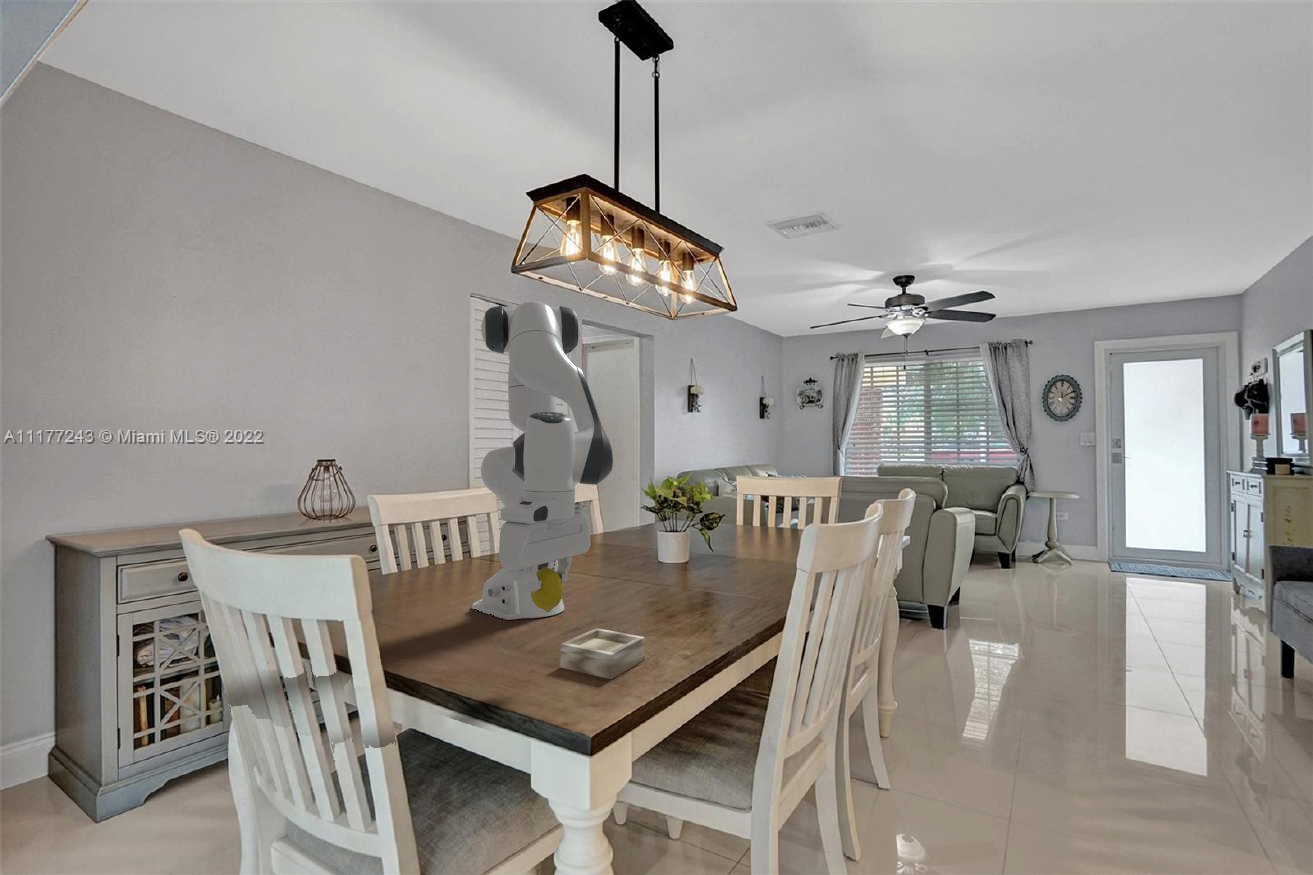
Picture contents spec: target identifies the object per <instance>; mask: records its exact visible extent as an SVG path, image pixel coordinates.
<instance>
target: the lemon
mask: <svg viewBox="0 0 1313 875" xmlns="http://www.w3.org/2000/svg"><path fill="white" fill-rule="evenodd" d="M536 575H537V578H538V580H542V584H541V587H542V588H541V590H539V591H536V592H531V597H532V600H533V602H534V604H535V605H536V606H537V607H539V608H541V609H544V610H545V611H546V612H550V611H551V610H552V609H553V608H554V607H556V606H557V605H558V604H559V603H560V601H561V599H562V600H563V595H564V586H563V583H562V581H561V578H560V576H559V574H558V573H557V572H556V571H554V570H552V569H549V568H548V567H543V568H542V569H541V570H539V571H538V572H537V573H536Z"/></svg>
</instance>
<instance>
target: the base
mask: <svg viewBox="0 0 1313 875" xmlns="http://www.w3.org/2000/svg"><path fill="white" fill-rule="evenodd" d="M559 645H560V650H559V652H560V657H559V660H560V663H559V664H560V668H561V669H565V670H570V671H575V672H577V673H583V674H587V675H590V676H591V675H592V676H595V677H599V678H604V679H609V680H612V679H614V678H616V677H618V676H620V675H621V674H623V673H625V672H627V671H628V670H630V669H632V668H633V667H635V666H637V665H639V664H640V663H642V662H644V661H645V660H646V637H645V636H640V635H634V634H630V633H626V632H625V633H624V632H620V631H619V632H618V631H615V630H614V631H613V630H609V629H603V628H597V627H596V628H593V629H591V630H589V631H587V632H585V633H582V634H580V635H578V636H575V637H574V638H571V639H568V640H566V641H564V642H561V643H560V644H559Z"/></svg>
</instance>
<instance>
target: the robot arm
mask: <svg viewBox="0 0 1313 875" xmlns="http://www.w3.org/2000/svg"><path fill="white" fill-rule="evenodd" d="M480 327H481V328H480V330H481V331H480V332H481V336H482V340H483V342H484V343H485V347H487V349H488V350H490V352H494V353H498V354H504V353H508V360H509V365H508V378H507V392H508V394H507V395H508V418H509V420H510V423H511V424H512V425H513V426H514V428H517V429H518V430H520V431H521V432H523V433H522V434H521V435H519V436H518V437H517V438H516V439H515V440H514V441H513V442H512V445H511V446H506V447H500V448H496V449H491V450H489V451H488V452H487V453H486V454H485V456H484V458H483V460H482V463H481V466H480V475H481V479H482V482H483V484H484V486H485V487H486V489H488V490H489V491H491V492H492V493H493V494H494V495H496V496H497V497H498V499H499V500H500V502H501V503H502V505H503V507H502V509H500V519H501V521H503V522H504V523H503V524H502V526H501V528H500V531H499V542H498V544H499V546H498V559H499V563H500V565H501V567H502V568H501V569H499V570H498V571H497V572H496V573H495V574H494V575H492V576H491V577H489V579H487V580H486V581H485V583H484V585H483V588H482V595H481V596H482V597H481V599H478V600H477V601H475V602H474V603H473V604H471V605H472V606H471V609H472V610H474V609H477V610H479V611H478V612H481V611H482V612H481V613H483V614H488V615H490V614H492V615H491V616H493V615H494V616H493V617H496V618H499V619H502V618H503V619H502V620H506V621H508V620H509V621H511V620H519V619H537V618H538V619H539V618H544V617H549V616H550V617H551V616H554V615H557V614H560V613H561V612H564V610H565V605H564V601H563V598H562V599H561V601H560V603H559V604H558V605H557V606H556V607H554V608H553V609H552V610H551V611H550V612H546V611H545V610H544V609H541V608H539V607H537V606H536V605H535V604H534V602H533V600H532V597H531V592H536V591H539V590H541V588H542V587H541V584H542V580H538V578H537V575H536V573H537V572H538V571H539V570H541V569H542V568H543V567H548V568H549V569H552V570H554V571H556V572H557V573H558V574H559V576H560V578H561V581H562V584H563V583H566V582H567V581H568V572H569V570H570V567H571V565H572V562H573V556H577V555H580V554H584V553H587V552H589V550H590V547H591V528H590V521H589V517H588V515H587V507H586V506H585V505H584V504H583V503H582V502H580V501H576V496H575V495H576V486H577V485H578V484H579V485H581V484H582V485H593V486H596V485H598V484H599V483H601V482H602V481H604V480H605V479H606V478H607V477H608V476H609V475H610V473H611V472H612V470H613V464H614V454H613V449H612V445H611V442H610V439H609V437H608V436H607V434H606V432H605V430H604V427H603V425H602V421H601V419H600V417H599V416H600V415H599V413H598V410H597V406H596V405H595V402H594V398H593V395H592V393H591V390H590V386H589V383H588V381H587V378H586V376H585V374H584V373H583V370H582V368H580V367H579V366H577V365H576V364H574V362H572V361H571V360H570V358H569V357H568V356H567V354H569V353H571V352H572V351H574V349H576V348H577V346H578V344H579V341H580V339H581V332H582V327H581V322H580V319H579V318H578V312H576V311H575V310H574V309H573V308H570V307H569V306H562V305H560V306H551V305H547V304H546V303H544V302H543V301H538V300H529V301H523V302H522V303H521V304H519V305H509V306H503V305H497V306H493V307H492V306H491V307H489V308H488V309H487V310H486V311H485V312H484V316H483V318H482V321H481V326H480ZM556 399H559V400H561V401H563V402H564V403H566V404H567V405H568V406H569V408H570V409H571V411H572V416H573V419H574V421H575V424H576V428H577V431H574V425H573V419H572V418H571V417H570V416H569V415H568V414H566V413H561V412H557V402H556ZM477 610H476V611H477Z"/></svg>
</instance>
